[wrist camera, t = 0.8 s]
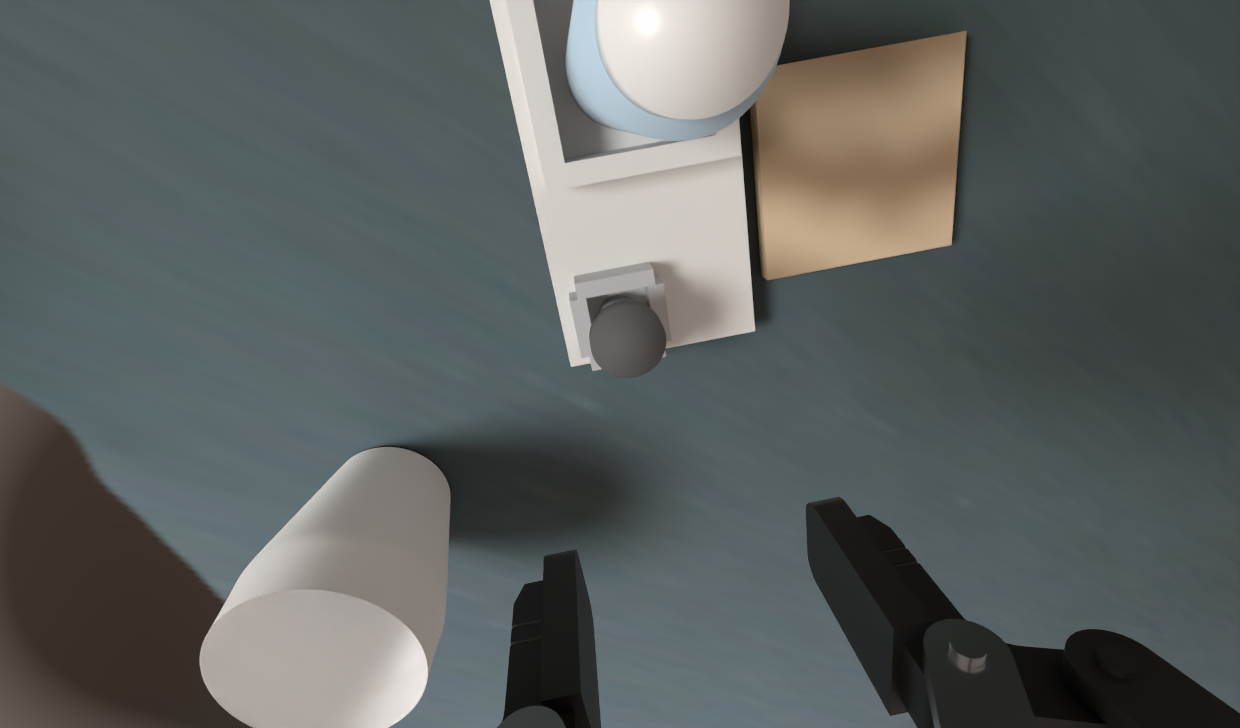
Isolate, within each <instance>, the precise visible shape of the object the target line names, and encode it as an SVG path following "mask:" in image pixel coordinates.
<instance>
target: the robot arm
mask: <svg viewBox="0 0 1240 728" xmlns="http://www.w3.org/2000/svg"><path fill="white" fill-rule="evenodd" d="M806 525H807V549H808V559H809V564H810V568H811V571H812V574H813V577H814V579H815V581H816V583H817V585H818V587H819V589H820V590H821V592H822V594H823V596H824V598H825V599H826V601H827V603H828V605H829V607H830V608H831V610H832V612H833V614H834V616H835V617H836V619H837V621H838V623H839V625H840V626H841V628H842V630H843V632H844V634H845V635H846V637H847V639H848V641H849V643H850V644H851V646H852V648H853V650H854V652H855V653H856V655H857V657H858V659H859V661H860V662H861V664H862V666H863V668H864V670H865V671H866V673H867V675H868V677H869V679H870V680H871V682H872V684H873V686H874V688H875V689H876V691H877V693H878V695H879V697H880V698H881V700H882V702H883V704H884V706H885V707H886V709H887V711H888V713H889V715H890V716H891V715H896V714H901V713H906V712H909V714H910V716H911V718H912V719H913V721H914V723H915V724H916V726H917V728H1240V713H1238V712H1237V711H1236V710H1234V709H1233V708H1231V707H1230V706H1228V705H1227V704H1226V703H1224V702H1223V701H1221V700H1220V699H1219V698H1217V697H1216V696H1214V695H1213V694H1212V693H1210V692H1209V691H1207V690H1206V689H1204V688H1203V687H1202V686H1200V685H1199V684H1197V683H1196V682H1195V681H1193V680H1192V679H1190V678H1189V677H1188V676H1186V675H1185V674H1183V673H1182V672H1181V671H1179V670H1178V669H1176V668H1175V667H1173V666H1172V665H1171V664H1169V663H1168V662H1166V661H1165V660H1164V659H1162V658H1161V657H1159V656H1158V655H1157V654H1155V653H1154V652H1152V651H1151V650H1150V649H1148V648H1146V647H1145V646H1143V645H1142V644H1140V643H1138V642H1136V641H1135V640H1133V639H1131V638H1128V637H1126V636H1123V635H1121V634H1117V633H1114V632H1110V631H1106V630H1098V629H1087V630H1081V631H1078V632H1075V633H1074V634H1072V635H1071V636H1070V637H1069V638H1068V639H1067V641H1066V644H1065V648H1064V650H1060V649H1048V648H1036V647H1024V646H1017V645H1012V644H1007V643H1005V642H1004V641H1003V640H1002V639H1001V638H1000V637H999V636H997V635H996V634H995V633H993V632H992V631H990V630H989V629H987V628H985V627H983V626H981V625H979V624H976V623H974V622H970V621H967V620H965V619H964V618H963V617H962V616H961V614H960V613H959V612H958V611H957V609H956V608H955V607H954V606H953V604H952V603H951V602H950V601H949V600H948V598H947V597H946V596H945V595H944V593H943V592H942V591H941V590H940V588H939V587H938V586H937V585H936V583H935V582H934V581H933V580H932V579H931V577H930V576H929V575H928V574H927V572H926V571H925V570H924V569H923V567H922V566H921V565H920V564H919V563H917V561H916V559H915V558H914V556H913V555H912V554H911V553H910V551H909V550H908V549H906V548H905V545H904V544H903V543H902V541H901V540H900V539H899V538H898V537H897V535H896V534H895V533H894V532H893V530H892V529H891V528H890V527H888V526H887V525H885V524H883V523H882V522H880V521H879V520H877V519H875V518H874V517H872V516H871V515H866V516H861V517H856V516H855V514H854V513H853V512H852V510H851V509H850V508H849V506H848V505H847V504H846V502H845V501H844V500H843V499H842V498H840V497H837V498H832V499H827V500H822V501H817V502H812V503H808V504H807V506H806ZM512 627H513V629H512V632H511V646H510V655H509V666H508V678H507V689H506V701H505V711H504V717H503V720H502V723H501V724H500V725H499V726H498V727H497V728H601V720H600V707H599V693H598V679H597V665H596V651H595V638H594V625H593V617H592V610H591V605H590V600H589V596H588V592H587V588H586V584H585V580H584V576H583V572H582V568H581V564H580V560H579V556H578V553H577V550H571V551H566V552H561V553H556V554H551V555H546V556H545V557H544V570H543V581H538V582H533V583H528V584H525V585H524V586H523V588H522V590H521V592H520V594H519V596H518V598H517V599H516V601H515V603H514V609H513V621H512Z"/></svg>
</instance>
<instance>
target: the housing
mask: <svg viewBox="0 0 1240 728" xmlns="http://www.w3.org/2000/svg"><path fill="white" fill-rule="evenodd" d="M573 1H574V0H490V4H491V8H492V13H493V17H494V22H495V26H496V31H497V35H498V40H499V44H500V49H501V53H502V58H503V62H504V67H505V71H506V76H507V80H508V85H509V89H510V94H511V98H512V103H513V107H514V112H515V116H516V121H517V125H518V130H519V134H520V139H521V143H522V148H523V152H524V157H525V162H526V166H527V171H528V175H529V180H530V184H531V189H532V193H533V198H534V202H535V207H536V211H537V216H538V220H539V225H540V229H541V234H542V238H543V243H544V247H545V252H546V256H547V261H548V265H549V270H550V274H551V279H552V283H553V288H554V292H555V297H556V301H557V306H558V310H559V315H560V319H561V324H562V328H563V333H564V337H565V342H566V346H567V351H568V355H569V360H570V364H571V367H573V366H578V365H583V364H589V363H591V367H592V371H595V370H600V369H602V368H600V367H599V365H598V364H597V363H596V361H595V360H594V358H593V355H592V352H591V347H590V340H589V333H590V328H591V325H592V322H593V320H594V319H595V317H596V316H597V314H598V312H599V308H600V306H601V304H602V303H603V302H604V301H605V300H606V299H607V298H609V297H610V296H613V295H617V294H624V295H628V296H630V297H632V298H633V299H635V300H636V301H637V302H641V303H643V304H645V305H647V306H649V307H650V308H651V309H652V310H653V311H654V312H655V313H656V314H657V316H658V317H659V319H660V321H661V323H662V325H663V327H664V329H665V333H666V348H671V347H676V346H681V345H686V344H691V343H697V342H702V341H707V340H712V339H717V338H722V337H727V336H733V335H738V334H743V333H748V332H753V331H755V323H754V309H753V296H752V283H751V269H750V256H749V243H748V229H747V216H746V203H745V189H744V176H743V163H742V149H741V136H740V123H739V118H738V119H737V120H736V121H734V122H733V123H732V124H730V125H729V126H727V127H725V128H723V129H722V130H720V131H718V132H716V133H713V134H711V135H708V136H706V137H702V138H698V139H694V140H686V141H666V140H660V139H654V138H650V137H646V136H641V135H637V134H633V133H628V132H624V131H620V130H615V129H611V128H608V127H605V126H602V125H600V124H598V123H596V122H594V121H593V120H591V119H590V118H589V117H588V116H586V115H585V114H584V113H583V112H582V111H581V109H580V108H579V107H578V106H577V104H576V103H575V101H574V99H573V97H572V95H571V93H570V91H569V88H568V85H567V81H566V75H565V55H566V48H567V41H568V34H569V28H570V21H571V14H572V8H573ZM666 348H665V349H666ZM662 357H666V353H665V352H664V354H663V356H662Z"/></svg>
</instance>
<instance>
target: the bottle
mask: <svg viewBox="0 0 1240 728" xmlns="http://www.w3.org/2000/svg"><path fill="white" fill-rule="evenodd" d="M788 18H789V0H574V1H573V8H572V14H571V21H570V28H569V34H568V41H567V48H566V55H565V75H566V81H567V85H568V88H569V91H570V93H571V95H572V97H573V99H574V101H575V103H576V104H577V106H578V107H579V108H580V109H581V111H582V112H583V113H584V114H585V115H586V116H588V117H589V118H590V119H591V120H593V121H594V122H596V123H598V124H600V125H602V126H605V127H608V128H611V129H615V130H620V131H624V132H628V133H633V134H637V135H641V136H646V137H650V138H654V139H660V140H666V141H686V140H694V139H698V138H702V137H706V136H708V135H711V134H713V133H716V132H718V131H720V130H722V129H723V128H725V127H727V126H729V125H730V124H732V123H733V122H734V121H736V120H737V119H738V118H740V117H741V116H742V115H743V114H744V113H745V112H746V111H747V110H748V109H749V108H750V107H751V106H752V105H753V104H754V103H755V101H756V100H757V99H758V98H759V96H760V95H761V94H762V92H763V91H764V89H765V87H766V86H767V84H768V83H769V81H770V79H771V77H772V75H773V72H774V70H775V68H776V65H777V63H778V60H779V57H780V54H781V50H782V46H783V42H784V39H785V35H786V31H787V26H788Z"/></svg>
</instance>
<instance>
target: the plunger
mask: <svg viewBox="0 0 1240 728" xmlns="http://www.w3.org/2000/svg"><path fill="white" fill-rule="evenodd" d="M589 340H590V347H591V352H592V355H593V358H594V360H595V361H596V363H597V364H598V365H599V367H600V368H602V369H603V370H604V371H605V372H607V373H609V374H611V375H613V376H617V377H622V378H632V377H637V376H640V375H643V374H645V373H647V372H649V371H650V370H651V369H653V368H654V367H655V366H656V365H657V364H658V363H659V361H660V360H661V358H662V356H663V354H664V352H665V348H666V333H665V329H664V327H663V325H662V323H661V321H660V319H659V317H658V316H657V314H656V313H655V312H654V311H653V310H652V309H651V308H650V307H649V306H647V305H645V304H643V303H641V302H637V301H636V300H635V299H633V298H632V297H630V296H628V295H624V294H617V295H613V296H610V297H609V298H607V299H606V300H605V301H604V302H603V303H602V304H601V306H600V308H599V312H598V314H597V316H596V317H595V319H594V320H593V322H592V325H591V328H590V333H589Z"/></svg>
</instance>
